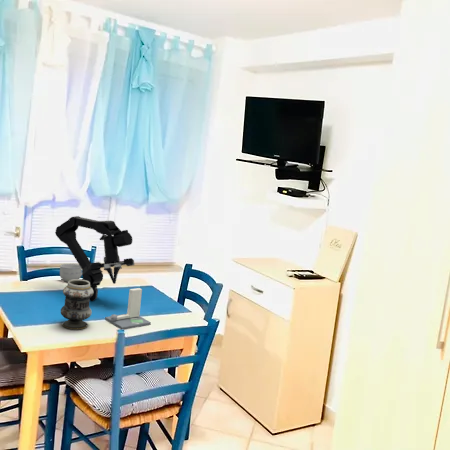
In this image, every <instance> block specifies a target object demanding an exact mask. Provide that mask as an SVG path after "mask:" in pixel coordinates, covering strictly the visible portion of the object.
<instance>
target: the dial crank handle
mask: <svg viewBox="0 0 450 450" xmlns="http://www.w3.org/2000/svg"><path fill="white" fill-rule="evenodd" d="M128 291H129V293H128V302H127V303H128V304H127V311H126V313H125V314H126V315H122V314H119V315H120V316H117V315H118V314H115V313H114V314H111V315H110V316H111V320H112V321H117V320H119V319H125V318H132V317H138V316H140V312H141V303H142V295H143V294H142V293H143V288H140V287H138V288H130V289H129V290H128Z"/></svg>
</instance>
